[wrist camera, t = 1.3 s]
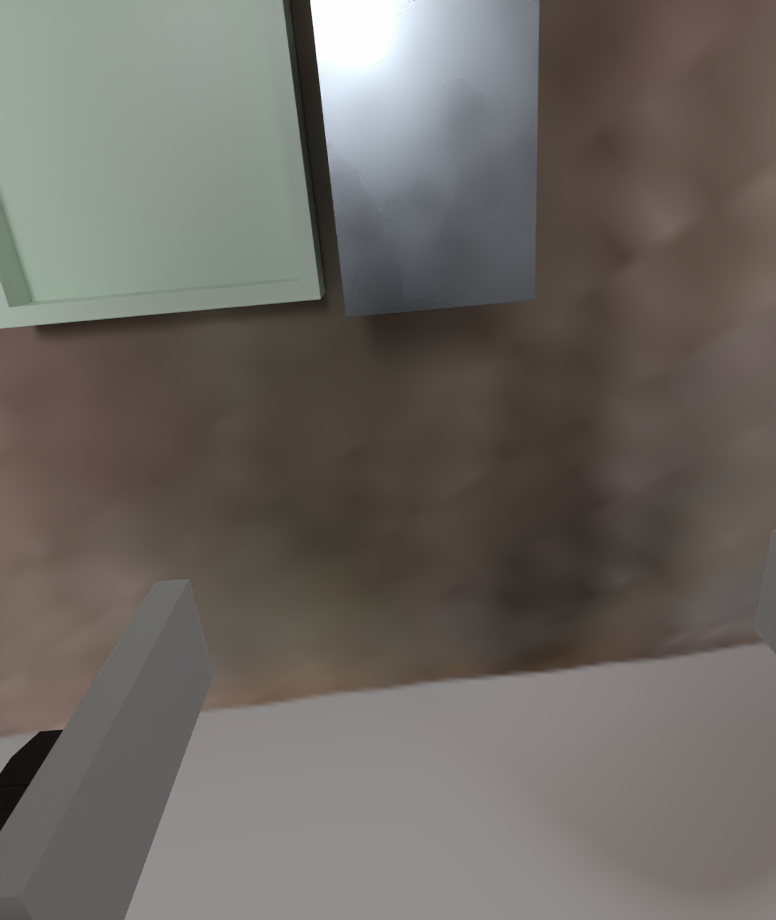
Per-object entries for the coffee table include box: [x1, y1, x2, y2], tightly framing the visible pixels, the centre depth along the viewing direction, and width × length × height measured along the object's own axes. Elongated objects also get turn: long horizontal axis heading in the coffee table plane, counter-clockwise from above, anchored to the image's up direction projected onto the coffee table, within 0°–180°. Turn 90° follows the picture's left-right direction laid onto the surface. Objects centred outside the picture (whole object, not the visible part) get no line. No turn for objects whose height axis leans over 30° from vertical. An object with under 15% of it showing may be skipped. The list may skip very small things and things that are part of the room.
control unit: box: [310, 0, 539, 317], centre depth 19 cm, size 10×6×10 cm, turn 5°
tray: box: [0, 0, 326, 328], centre depth 22 cm, size 14×14×2 cm
